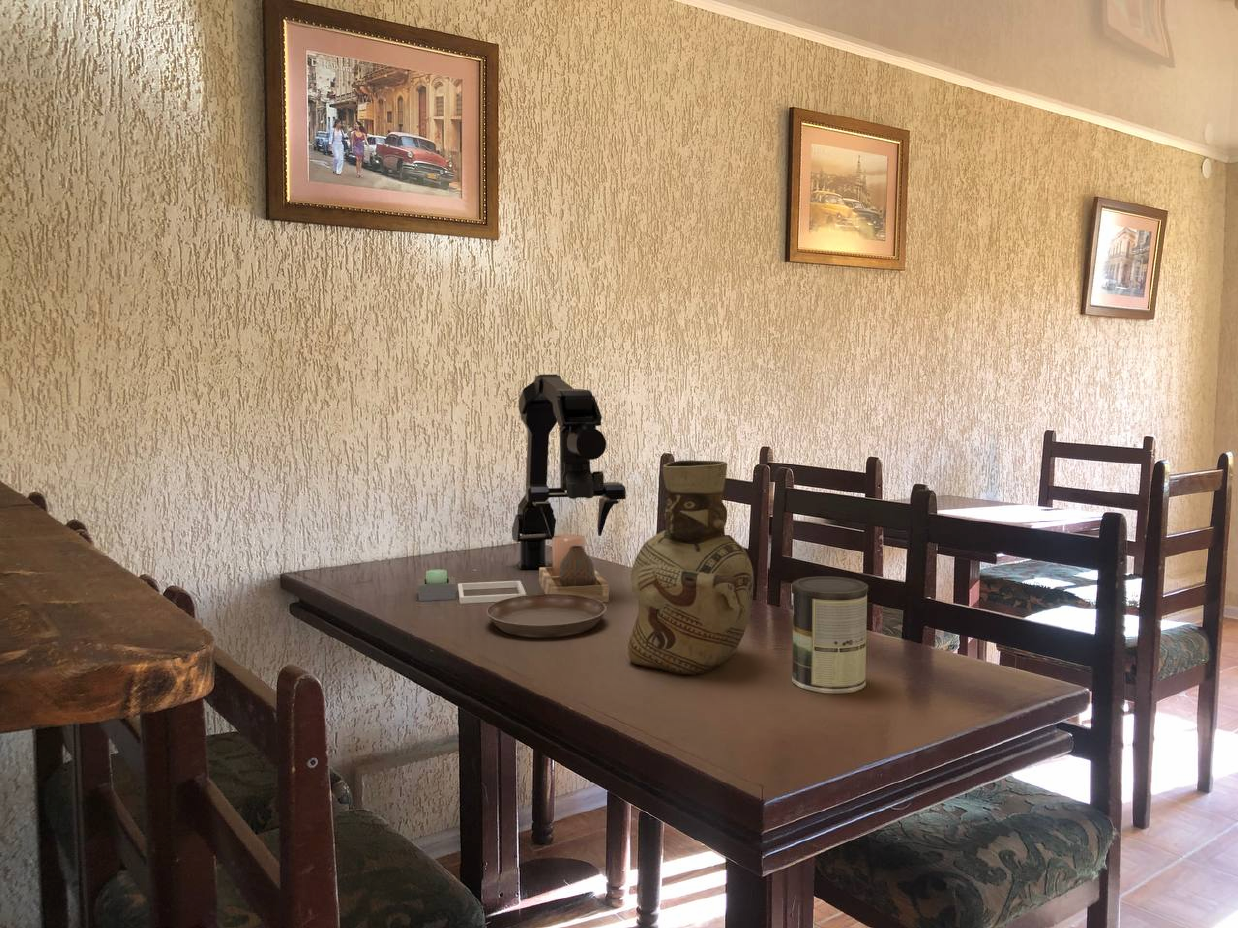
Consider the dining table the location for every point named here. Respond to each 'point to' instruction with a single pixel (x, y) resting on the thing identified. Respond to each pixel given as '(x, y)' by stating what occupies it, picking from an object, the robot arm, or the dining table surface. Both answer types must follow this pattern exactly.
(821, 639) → the coffee can
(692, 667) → the ceramic vessel
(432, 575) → the button
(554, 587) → the pallet
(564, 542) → the block
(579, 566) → the vase
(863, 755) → the dining table surface
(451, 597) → the button housing
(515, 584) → the white square frame
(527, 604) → the plant saucer
